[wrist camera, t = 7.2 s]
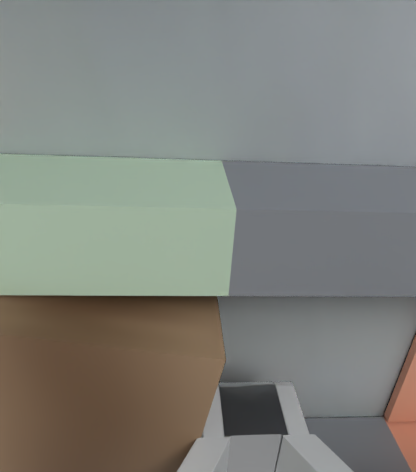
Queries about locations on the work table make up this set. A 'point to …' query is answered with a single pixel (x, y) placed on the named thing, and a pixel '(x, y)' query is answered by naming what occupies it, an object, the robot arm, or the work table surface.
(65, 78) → the work table surface
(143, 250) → the multicolored rectangular frame
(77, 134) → the work table surface
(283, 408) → the robot arm
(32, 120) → the work table surface
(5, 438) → the walnut block
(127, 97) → the work table surface
